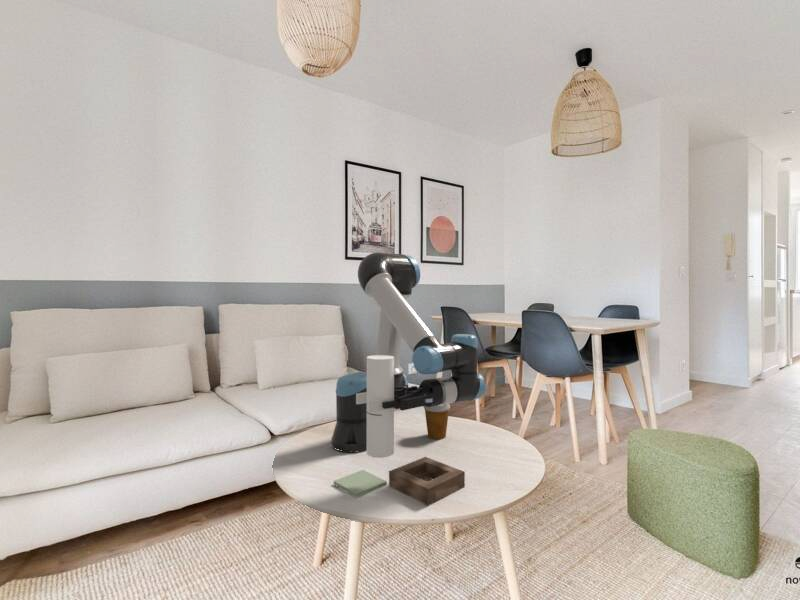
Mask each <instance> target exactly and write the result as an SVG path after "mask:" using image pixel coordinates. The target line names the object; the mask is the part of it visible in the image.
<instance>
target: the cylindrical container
mask: <svg viewBox="0 0 800 600" xmlns="http://www.w3.org/2000/svg"><path fill="white" fill-rule="evenodd" d="M366 372H367V450H366V455H368V457H371V458H376V459H377V458H378V459H379V458H388V457H391V456H392V455H394V453H395V451H394V450H395V408H393V409H387V410H381V411H374V412H369V400H376V399H383V398H390V397H392V398H393V401H394V356H390V355H376V354H373V355H372V354H371V355H368V356H366Z"/></svg>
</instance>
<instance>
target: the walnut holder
mask: <svg viewBox="0 0 800 600" xmlns="http://www.w3.org/2000/svg"><path fill="white" fill-rule="evenodd" d="M465 474H466V473H465V471H463V470H461V469H459V468H455V467H453V466H451V465H448V464H445V463H443V462H440V461H437V460H436V459H432V458H430V457H427V456H424V457H421V458H419V459H417V460H414V461H411V462H408V463H406V464H404V465H401V466H398V467H396V468H393V469H391V470H389V471H388V481H389V482H388V487H390V488H392V489H393V490H395V491H398V492H400V493H402V494H404V495H405V496H408V497H410V498H412V499H414V500H417V501H418V502H419V503H421V504H424V505H426V506H430V505H432V504H434V503H436V502H438V501H440V500H442V499H444V498H446V497H448V496H450V495H451V494H454V493H455V492H457V491H459V490H461V489H463V488H465V485H466V483H465V481H466V480H465V479H466V477H465V476H466V475H465ZM423 478H429V479H431V480H428V481H427V480H424V479H423Z"/></svg>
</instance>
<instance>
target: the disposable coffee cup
mask: <svg viewBox="0 0 800 600" xmlns="http://www.w3.org/2000/svg"><path fill="white" fill-rule="evenodd" d="M422 407H423V409H424V414H425V422H426V430H427V437H428V438H430V439H432V440H433V439H435V440H442V439H445V438H446V437H447V430H448V429H447V428H448V421H449V413H450V408H451V405H450V404H447V406H444V405H438V406H433V407H426V406H422Z"/></svg>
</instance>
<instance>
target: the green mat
mask: <svg viewBox="0 0 800 600" xmlns="http://www.w3.org/2000/svg"><path fill="white" fill-rule="evenodd" d="M334 484H335V485H337V486H338V487H337V486H336V487H337V488H339V487H340V488H341V490H342V489H343V490H342V491H344V490H345V491H344V492H346V491H347V492H348V494H349V495H351V496H353V497H354V496H355V498H360V497H362V496H364V495H366V494H369V493H371V492H374V491H376V490H378V489H381V488H383V487H385V486H387V480H384V479H383V478H381V477H379V476H376V475H374V474H372V473H370V472H368V471H367V470H364V469H362V470H359V471H356V472H354V473H351V474H348V475H345V476H343V477H340V478H338V479H335V480H333V485H334ZM335 485H334V486H335ZM340 488H339V489H340ZM347 492H346V493H347ZM359 496H360V497H359Z"/></svg>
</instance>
